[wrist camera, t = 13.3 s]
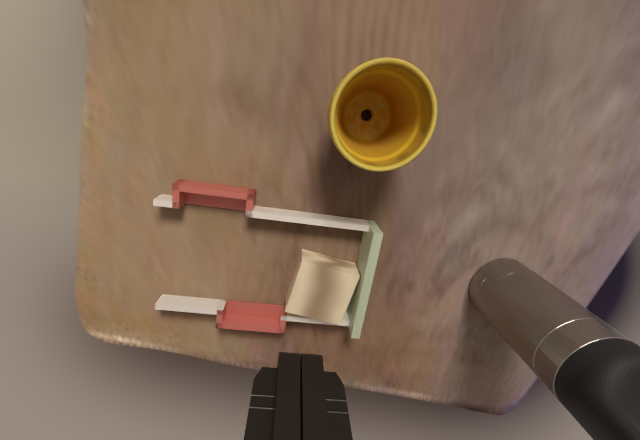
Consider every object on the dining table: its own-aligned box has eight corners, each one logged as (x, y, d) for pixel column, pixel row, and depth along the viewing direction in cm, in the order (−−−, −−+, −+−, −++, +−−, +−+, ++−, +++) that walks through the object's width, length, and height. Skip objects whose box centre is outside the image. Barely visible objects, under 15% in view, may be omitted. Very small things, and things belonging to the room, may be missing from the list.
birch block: (355, 262, 46) (360, 276, 42) (336, 308, 49) (340, 325, 45) (301, 247, 45) (302, 260, 41) (285, 295, 47) (284, 311, 44)
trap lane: (377, 205, 43) (387, 217, 38) (350, 328, 50) (356, 351, 45) (161, 177, 40) (143, 186, 36) (162, 312, 47) (147, 334, 42)
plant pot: (328, 63, 37) (338, 48, 28) (414, 76, 38) (451, 66, 29) (317, 153, 40) (322, 166, 31) (396, 162, 41) (424, 178, 32)
